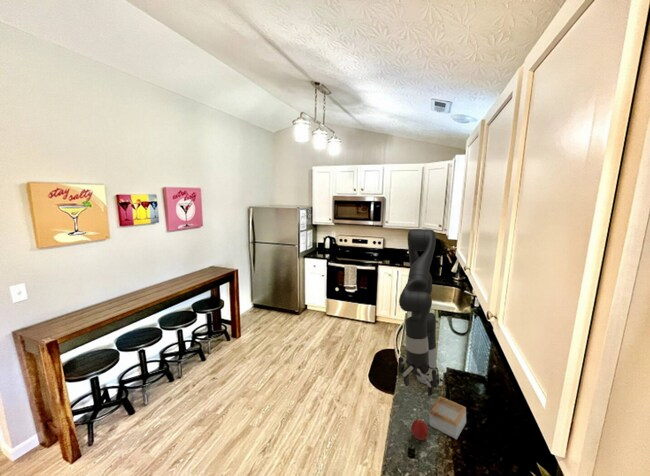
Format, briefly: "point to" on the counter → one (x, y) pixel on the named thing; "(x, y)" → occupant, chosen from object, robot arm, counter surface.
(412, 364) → the robot arm
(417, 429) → the onion
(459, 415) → the wooden tray
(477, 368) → the counter surface
